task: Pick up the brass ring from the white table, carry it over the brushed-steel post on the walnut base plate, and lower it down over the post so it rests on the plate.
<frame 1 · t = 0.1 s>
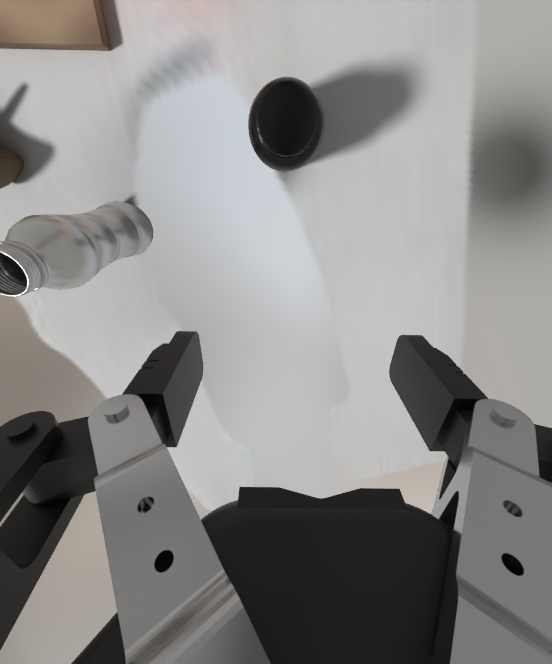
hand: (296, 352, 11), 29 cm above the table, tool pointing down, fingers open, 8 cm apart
plastic bottle: (133, 226, 36), on the table
supplement bottle: (284, 138, 32), on the table
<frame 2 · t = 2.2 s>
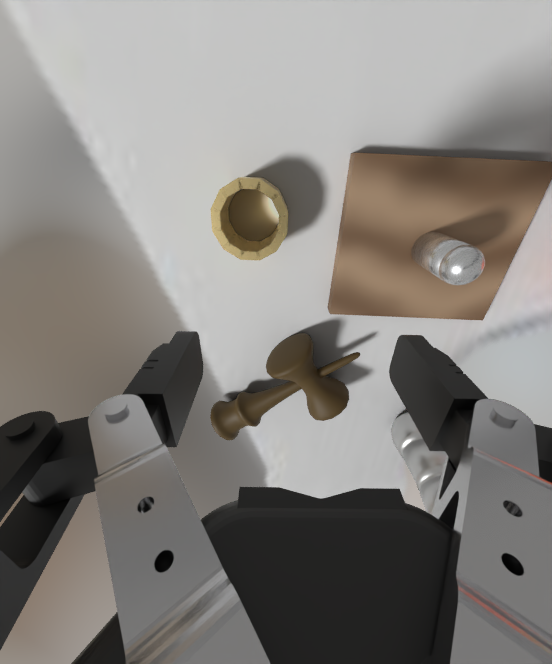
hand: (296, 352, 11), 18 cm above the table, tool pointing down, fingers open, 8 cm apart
walnut base plate: (421, 244, 26), on the table
plastic bottle: (409, 419, 38), on the table
steel post: (447, 258, 22), on the walnut base plate, point 5 cm above the table
brass ring: (253, 215, 25), on the table
kendama: (283, 375, 35), on the table
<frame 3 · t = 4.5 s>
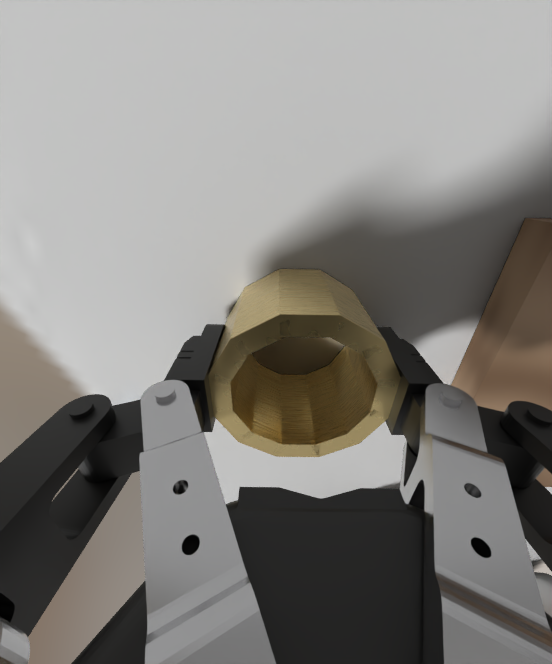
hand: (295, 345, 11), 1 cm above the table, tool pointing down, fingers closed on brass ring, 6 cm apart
plastic bottle: (514, 573, 26), on the table
brass ring: (295, 334, 12), on the table, touching gripper
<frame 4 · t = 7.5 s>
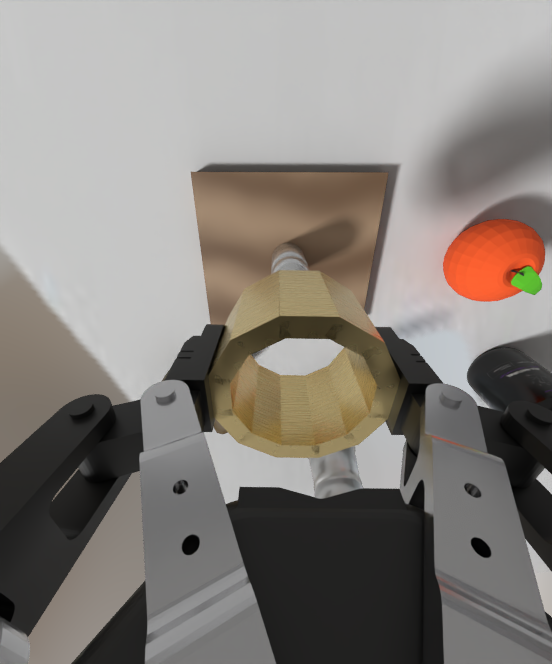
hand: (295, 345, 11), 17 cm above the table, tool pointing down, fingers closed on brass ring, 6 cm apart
clementine: (467, 254, 27), on the table
walnut base plate: (287, 255, 27), on the table
plastic bottle: (325, 423, 39), on the table
steel post: (289, 269, 23), on the walnut base plate, point 5 cm above the table
brass ring: (295, 335, 12), point 16 cm above the table, touching gripper
supplement bottle: (491, 367, 34), on the table
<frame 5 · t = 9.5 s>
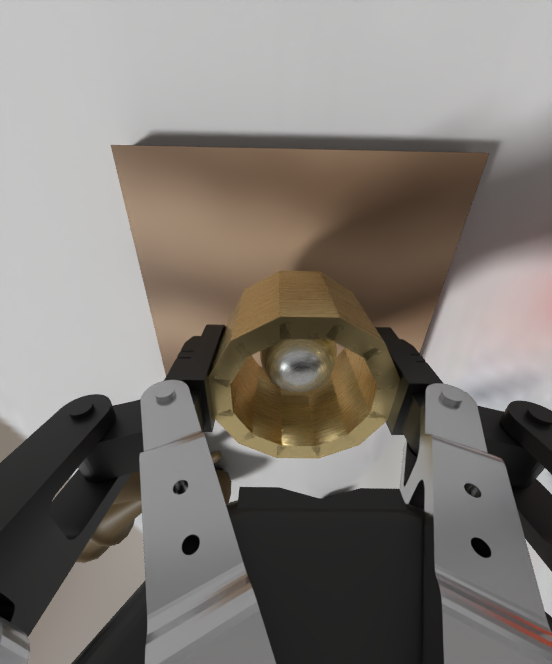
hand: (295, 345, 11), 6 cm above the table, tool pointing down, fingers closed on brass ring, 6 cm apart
walnut base plate: (291, 291, 16), on the table
steel post: (295, 330, 12), on the walnut base plate, point 5 cm above the table
brass ring: (295, 335, 12), point 5 cm above the table, touching gripper
kendama: (156, 466, 26), on the table
when the fingers open (4 cm above the table, at t = 10.3 s): brass ring drops 2 cm, resting on walnut base plate.
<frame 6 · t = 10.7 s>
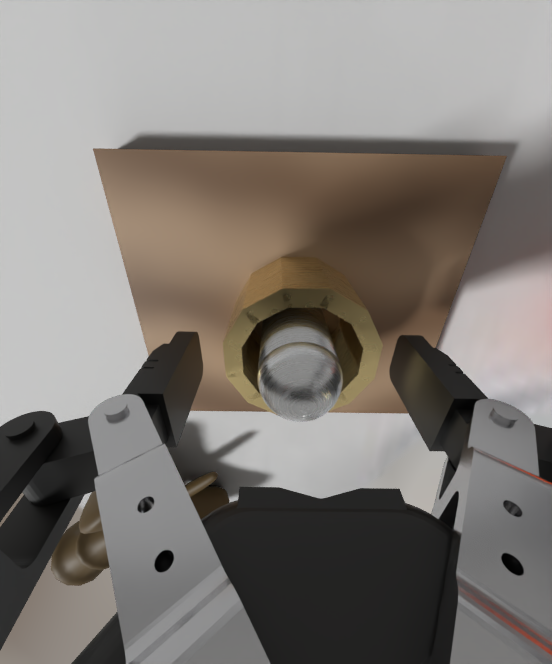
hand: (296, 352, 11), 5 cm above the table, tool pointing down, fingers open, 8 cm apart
walnut base plate: (291, 302, 15), on the table
steel post: (296, 349, 11), on the walnut base plate, point 5 cm above the table
brass ring: (295, 315, 14), point 1 cm above the table, touching walnut base plate
kendama: (152, 484, 25), on the table
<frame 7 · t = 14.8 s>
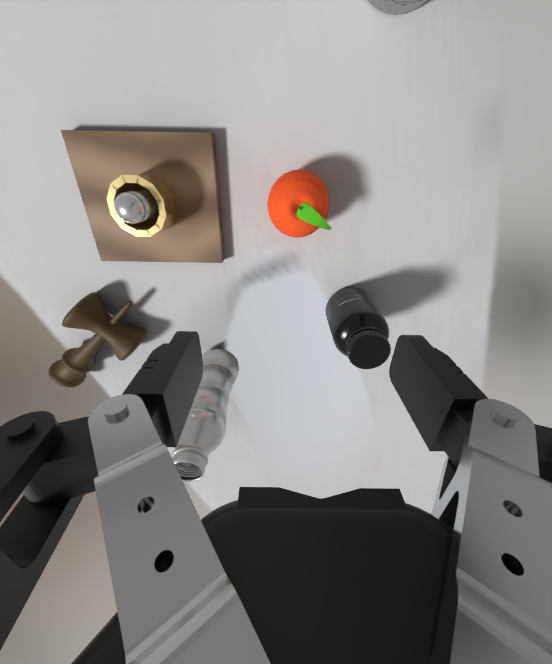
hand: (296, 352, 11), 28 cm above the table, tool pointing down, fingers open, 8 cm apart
clementine: (299, 204, 34), on the table
walnut base plate: (155, 202, 34), on the table
plastic bottle: (220, 359, 46), on the table
steel post: (138, 206, 30), on the walnut base plate, point 5 cm above the table
brass ring: (151, 203, 32), point 1 cm above the table, touching walnut base plate
kendama: (106, 331, 44), on the table
supplement bottle: (346, 307, 41), on the table
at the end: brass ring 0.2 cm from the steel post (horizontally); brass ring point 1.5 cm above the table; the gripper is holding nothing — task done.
